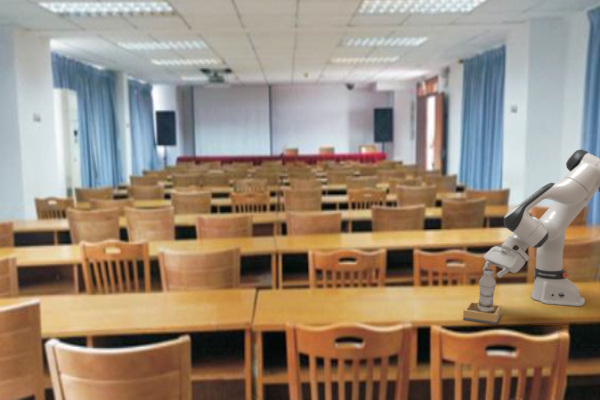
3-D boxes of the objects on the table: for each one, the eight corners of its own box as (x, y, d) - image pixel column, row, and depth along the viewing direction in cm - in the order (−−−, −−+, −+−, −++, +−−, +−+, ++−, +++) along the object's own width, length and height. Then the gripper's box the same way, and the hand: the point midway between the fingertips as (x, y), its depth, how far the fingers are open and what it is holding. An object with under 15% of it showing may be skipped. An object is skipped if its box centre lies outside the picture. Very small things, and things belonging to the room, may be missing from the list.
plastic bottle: (494, 320, 224) (498, 273, 220) (477, 318, 226) (481, 272, 222) (492, 313, 231) (496, 268, 226) (475, 312, 232) (479, 267, 228)
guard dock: (501, 314, 233) (501, 305, 233) (496, 324, 222) (496, 314, 221) (469, 310, 239) (469, 301, 239) (463, 319, 228) (463, 310, 227)
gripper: (493, 239, 241) (472, 263, 240) (523, 249, 221) (501, 274, 220) (501, 249, 243) (481, 272, 241) (532, 259, 223) (510, 284, 222)
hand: (491, 273), depth 231 cm, fingers open, 8 cm apart
